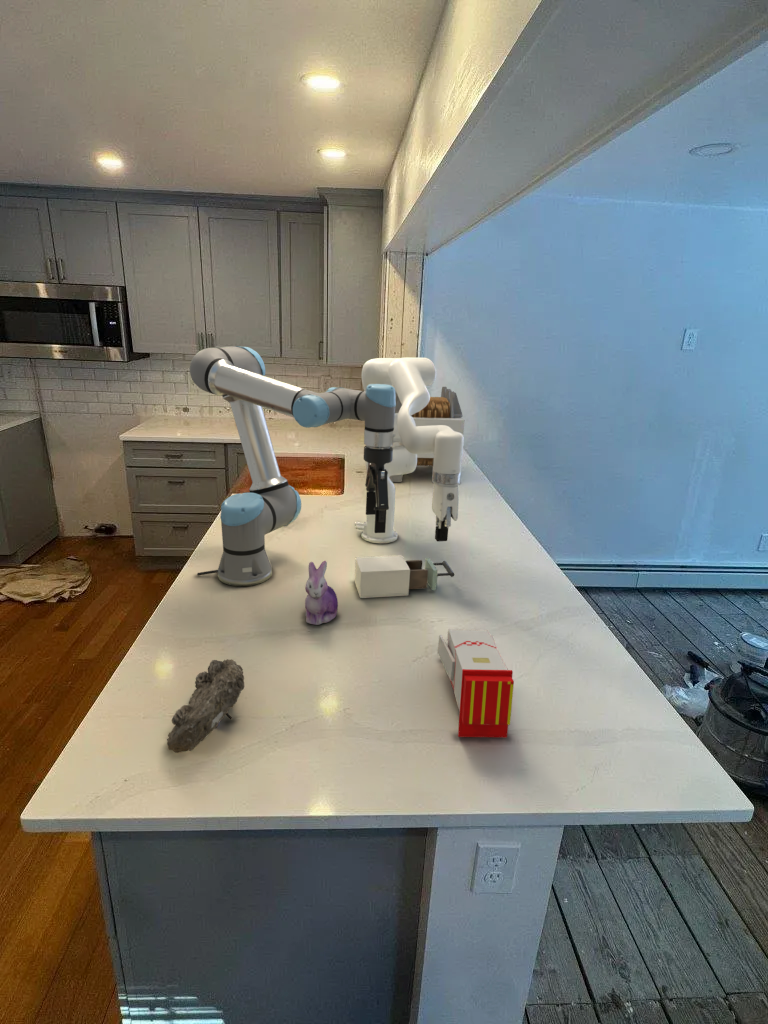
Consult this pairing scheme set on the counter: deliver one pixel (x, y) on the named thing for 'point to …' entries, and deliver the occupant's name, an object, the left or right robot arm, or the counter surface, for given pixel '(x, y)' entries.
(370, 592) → the open cream box
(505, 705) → the toy
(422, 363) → the right robot arm
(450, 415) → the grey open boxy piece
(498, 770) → the counter surface
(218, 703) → the fossil
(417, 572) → the drawer
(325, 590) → the figurine
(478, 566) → the counter surface
